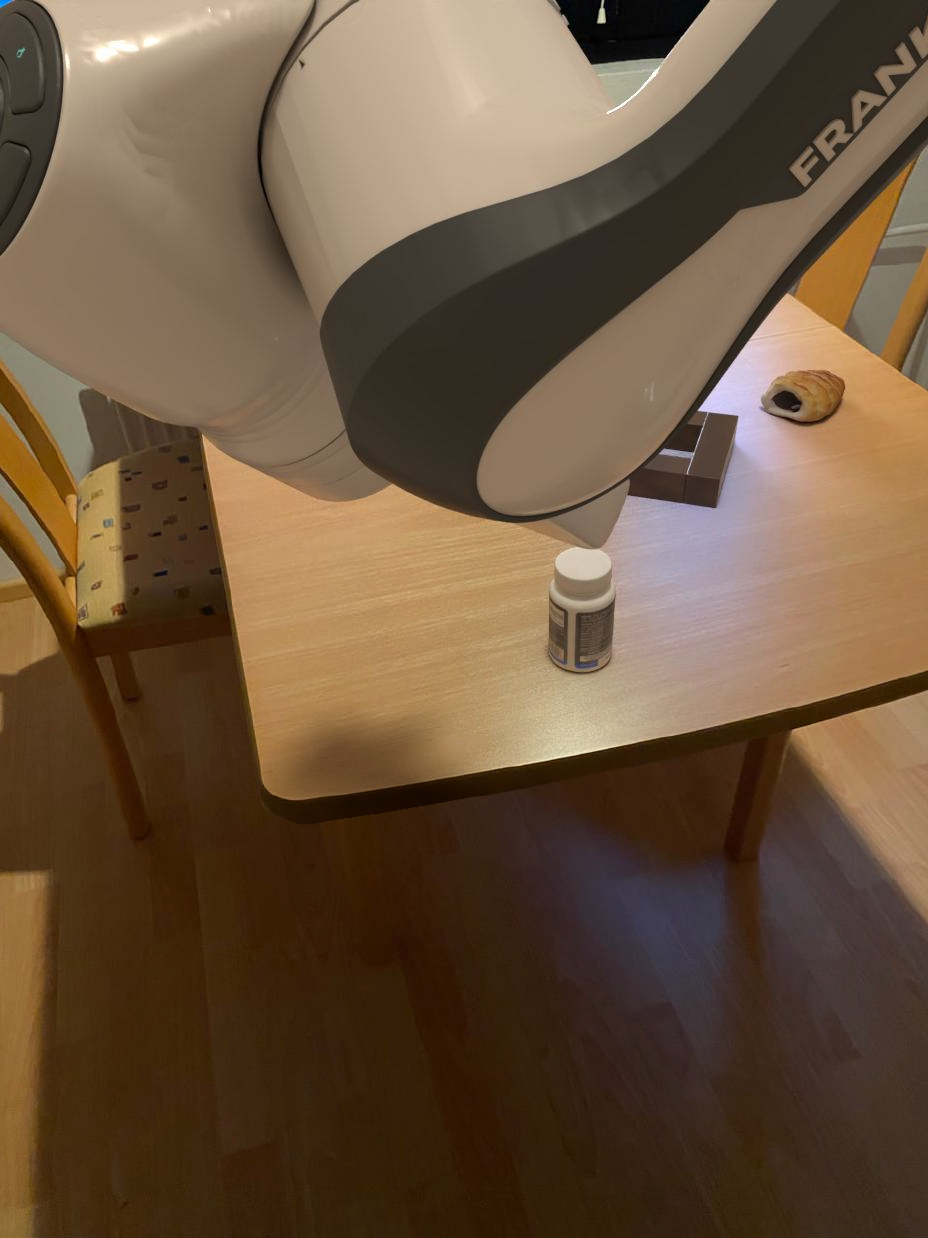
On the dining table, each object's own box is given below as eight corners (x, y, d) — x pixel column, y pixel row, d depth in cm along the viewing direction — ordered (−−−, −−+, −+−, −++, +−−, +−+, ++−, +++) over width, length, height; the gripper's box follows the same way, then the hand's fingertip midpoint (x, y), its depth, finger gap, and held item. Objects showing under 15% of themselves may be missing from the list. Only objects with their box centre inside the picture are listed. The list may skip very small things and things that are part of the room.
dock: (734, 442, 93) (738, 415, 91) (715, 507, 84) (720, 479, 82) (611, 426, 97) (612, 400, 95) (580, 487, 88) (581, 459, 86)
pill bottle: (617, 639, 71) (624, 548, 66) (603, 679, 67) (610, 587, 62) (556, 627, 72) (559, 538, 67) (540, 667, 69) (541, 576, 63)
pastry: (803, 381, 103) (810, 348, 101) (859, 400, 99) (868, 366, 97) (754, 409, 98) (760, 376, 96) (811, 431, 94) (818, 396, 92)
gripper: (592, 369, 32) (685, 488, 44) (194, 267, 42) (360, 387, 54) (520, 538, 32) (633, 610, 44) (140, 397, 42) (318, 488, 54)
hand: (481, 487), depth 49 cm, fingers open, 8 cm apart
